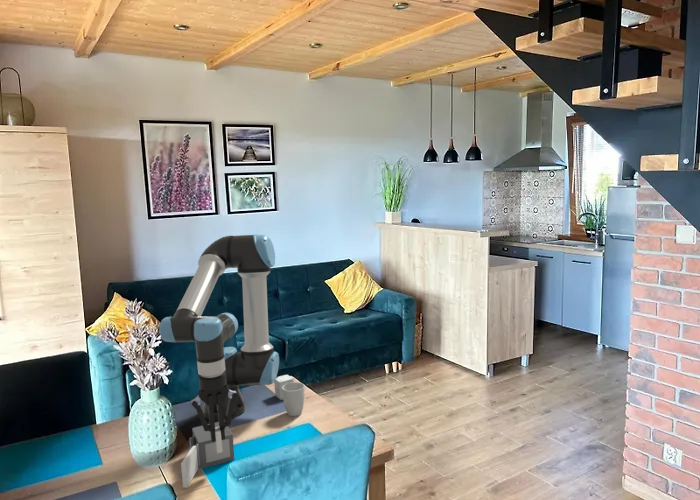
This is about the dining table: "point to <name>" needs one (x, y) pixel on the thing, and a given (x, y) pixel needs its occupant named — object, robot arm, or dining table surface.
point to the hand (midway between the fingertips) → (219, 450)
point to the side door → (190, 465)
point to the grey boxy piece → (212, 446)
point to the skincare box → (281, 384)
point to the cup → (293, 398)
